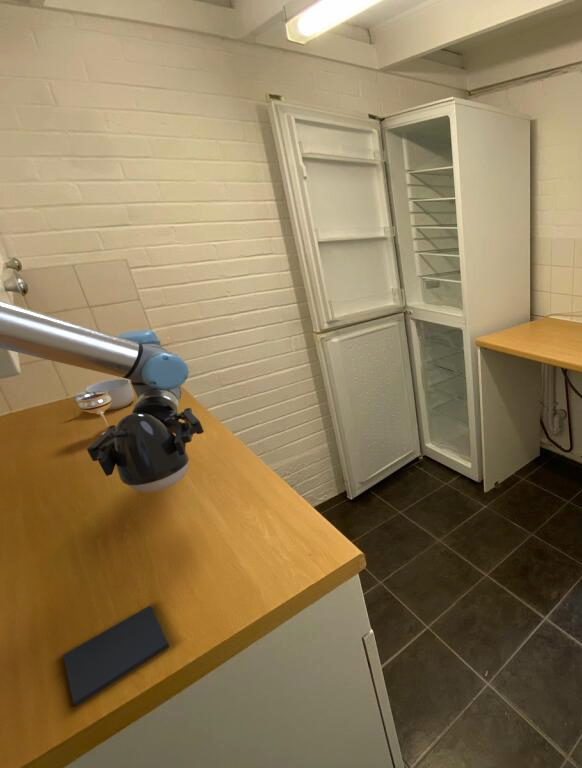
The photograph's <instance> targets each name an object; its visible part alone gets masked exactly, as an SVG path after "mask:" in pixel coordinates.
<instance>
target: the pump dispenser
mask: <svg viewBox="0 0 582 768" xmlns="http://www.w3.org/2000/svg"><path fill="white" fill-rule="evenodd" d="M175 435H176V434H174V433H172V432H171V431H170V430H169V429H168V428H167V427H166V426H165V425H164V424H163V423H162V422H160V421H159V420H158V419H156V418H155V417H153V416H151V415H149V414H146V413H132V412H131V413H129V414H127V415H125V416H123V417H122V418H121V419H120V420H119V421H118V423H117V425H116V430H115V431H113V432H110V433H109V437H111V438H114V455H115V462H116V465H115V467H116V470H117V474H118V476H119V478H120V481H121V482H122V484H125V485H127V486H128V487H129V488H131V489H132V490H133V491H136V492H139V493H145V494H152V493H158V492H161V491H165V490H168V489H170V488H172V487H174V486H175V485H177V484H178V483H180V482H181V481H182V480H183V479H184V478H185V476H186V474H187V473H188V470H189V460H190V457H189V454H188V452H187V450H186V449H185V454H184V455H179V453H178V450H177V448H176V446H175V443H174V442H175Z"/></svg>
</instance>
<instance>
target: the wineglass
mask: <svg viewBox="0 0 582 768" xmlns="http://www.w3.org/2000/svg"><path fill="white" fill-rule="evenodd" d="M86 393H87V392H86ZM76 400H77V401H79V404H78V407H79V408H80V409H81V410H82V411H83V412H85V413H89V414H96V415H99V416H100V418H101V420H102V422H103V423H104V425H105V427H106V429H107V428H108V427H109V426H110V425H109V423H108V421H107V419H106V416H105V412H106V410H107V409H108V408H109V407H110V406H111V404H112V399H111V397H110V396H109V395H108V391H95V392H91V393H87V394H84V395H82V396H80V397H78V398H76ZM105 432H106V431H104V432H102V433H101V436H102V435H103V434H104V433H105Z"/></svg>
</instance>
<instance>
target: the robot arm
mask: <svg viewBox="0 0 582 768" xmlns="http://www.w3.org/2000/svg"><path fill="white" fill-rule="evenodd" d="M0 349H3V350H7V351H11V352H14V353H19V354H23V355H27V356H31V357H36V358H40V359H44V360H48V361H53V362H56V363H60V364H65V365H69V366H73V367H76V368H81V369H85V370H90V371H93V372H98V373H102V374H107V375H109V376H114V377H118V378H121V379H128V380H129V381H130V384H131V387H132V389H133V391H134V393H135V395H136V397H137V398H136V400H135V403H134V405H133V409H132V411H131V414H132V413H146V414H149V415H151V416H153V417H155V418H156V419H158V420H159V421H160V422H162V423H163V424H164V425H165V426H166V427H167V428H168V429H169V430H170V431H171V432H172V433H173V434H174V435H175V442H174V443H175V446H176V448H177V450H178V453H179V455H184V454H185V450H186V445H187V443H191V442H192V441H193V436H194V435H195V434H196V435H201V434H203V433H204V432H205V430H204V429H203V426H202V423H201V421H200V420H199V418H197V416H195V415H194V412H193V410H192V408H191V407H187V408H184V409H183V411H180V412H179V407H180V401H181V398H182V394H183V393H182V389H181V386H182V385H184V383H185V382H186V381H187V379H188V378H189V373H190V372H189V371H190V370H189V366H188V365H187V363H186V362H185V361H184V359H183V358H182V357H181V356H179V355H178V354H175V353H173V352H171V351H169V350H167V349H166V348H163V347H162V345H161V340H159V338H158V336H157V333H156V332H155V331H153V330H151V329H142V330H141V329H140V330H133V331H129V332H124V333H121V334H120V333H119V334H118V335H115V334H111V333H108V332H105V331H101V330H97V329H94V328H91V327H89V326H85V325H81V324H80V323H79V324H78V323H75V322H72V321H69V320H65V319H62V318H59V317H55V316H52V315H49V314H46V313H43V312H39V311H36V310H33V309H29V308H26V307H24V306H19V305H17V304H14V303H10V302H6V301H4V300H0ZM180 420H182V421H180ZM108 426H109V427H108V428H107V427H106V431H104V432H105V433H104V432H103V433H104V434H103V435H102V434H101V435H100V436H99V437H98V438H97V439H96V440H95V441H94V442H93V443H92V444H91V445H89V446H88V447H87V448H86V451H87V453H88V455H89V457H90V458H91V460H92V462H98V464H99V466H100V467H101V469H102V471H103V473H104V474H105V476H106V477H108V476H111V475H113V473H114V470H115V468H116V462H115V455H114V438H111V437H109V433H110V432H113V431H115V430H116V427H117V425H115V424H113V425H108Z"/></svg>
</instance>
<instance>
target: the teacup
mask: <svg viewBox="0 0 582 768" xmlns="http://www.w3.org/2000/svg"><path fill="white" fill-rule="evenodd" d="M95 391H108V395H109V396H110V397H111V399H112V404H111V406H110V407H109V408H108V409H107V410H105V412H106V411H108V412H109V411H115V410H119V409H122V408H125V407H127V406H129V405H130V404H131V403H132V402H133V400H134V399H135V391H134V388H133V386H132V383H131V380H129V379H125V378H112V379H107V380H102V381H98V382H95V383H93V384H91V385H88V386H87V387H86V388H85V391H83V392H77V393H76V394H74V395H73V401H74V403H75V404H77V405H79V401H77V400H76V398H78V397H80V396H82V395H84V394H87V393H91V392H95Z"/></svg>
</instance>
